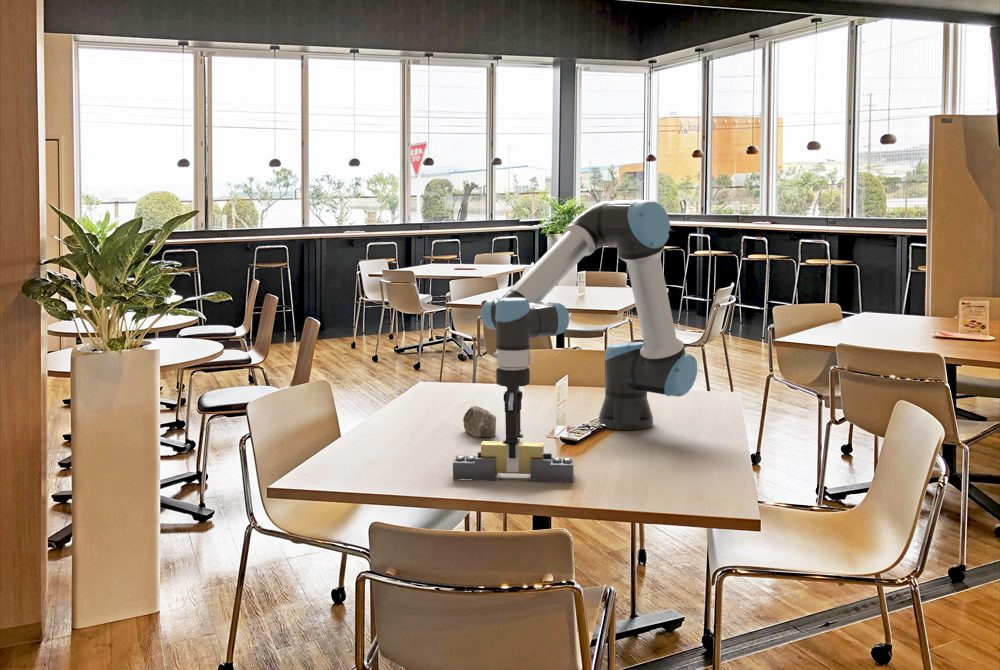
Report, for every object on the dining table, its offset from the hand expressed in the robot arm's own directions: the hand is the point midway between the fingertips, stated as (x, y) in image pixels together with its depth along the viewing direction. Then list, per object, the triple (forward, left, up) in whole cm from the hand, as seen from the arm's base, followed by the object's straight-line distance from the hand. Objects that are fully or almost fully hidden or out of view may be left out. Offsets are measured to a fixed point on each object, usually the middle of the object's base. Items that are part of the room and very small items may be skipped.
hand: (513, 468), depth 203 cm
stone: (+13, -39, -2) cm, 41 cm away
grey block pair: (0, 0, -2) cm, 2 cm away
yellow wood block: (0, 0, -1) cm, 1 cm away
